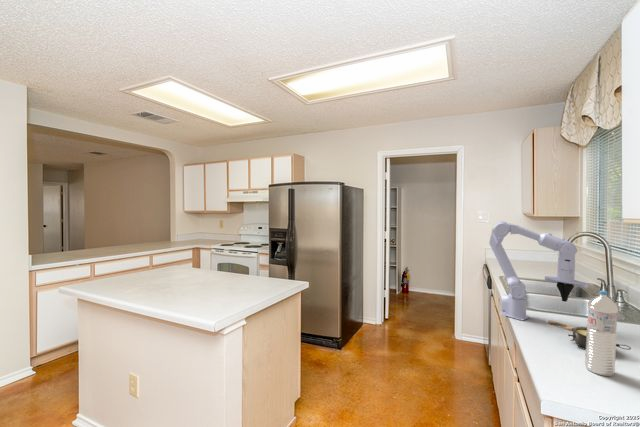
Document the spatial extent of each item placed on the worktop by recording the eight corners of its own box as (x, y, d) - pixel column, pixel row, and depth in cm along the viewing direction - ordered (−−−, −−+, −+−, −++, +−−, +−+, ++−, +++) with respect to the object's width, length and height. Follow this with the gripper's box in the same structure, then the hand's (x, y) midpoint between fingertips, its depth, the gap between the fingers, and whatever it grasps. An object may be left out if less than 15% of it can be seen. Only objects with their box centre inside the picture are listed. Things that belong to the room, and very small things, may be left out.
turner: (547, 324, 133) (547, 321, 133) (550, 321, 135) (550, 319, 135) (589, 335, 122) (589, 333, 122) (592, 332, 124) (592, 330, 124)
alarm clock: (572, 323, 119) (631, 336, 108) (572, 337, 120) (631, 351, 108) (567, 331, 112) (630, 345, 100) (567, 346, 112) (630, 362, 100)
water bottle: (584, 362, 100) (588, 287, 99) (613, 370, 96) (617, 291, 95) (585, 371, 95) (589, 291, 94) (615, 380, 91) (620, 296, 90)
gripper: (590, 271, 128) (589, 303, 129) (548, 265, 140) (547, 295, 140) (586, 273, 124) (584, 306, 124) (543, 267, 135) (542, 297, 136)
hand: (564, 300), depth 132 cm, fingers closed
